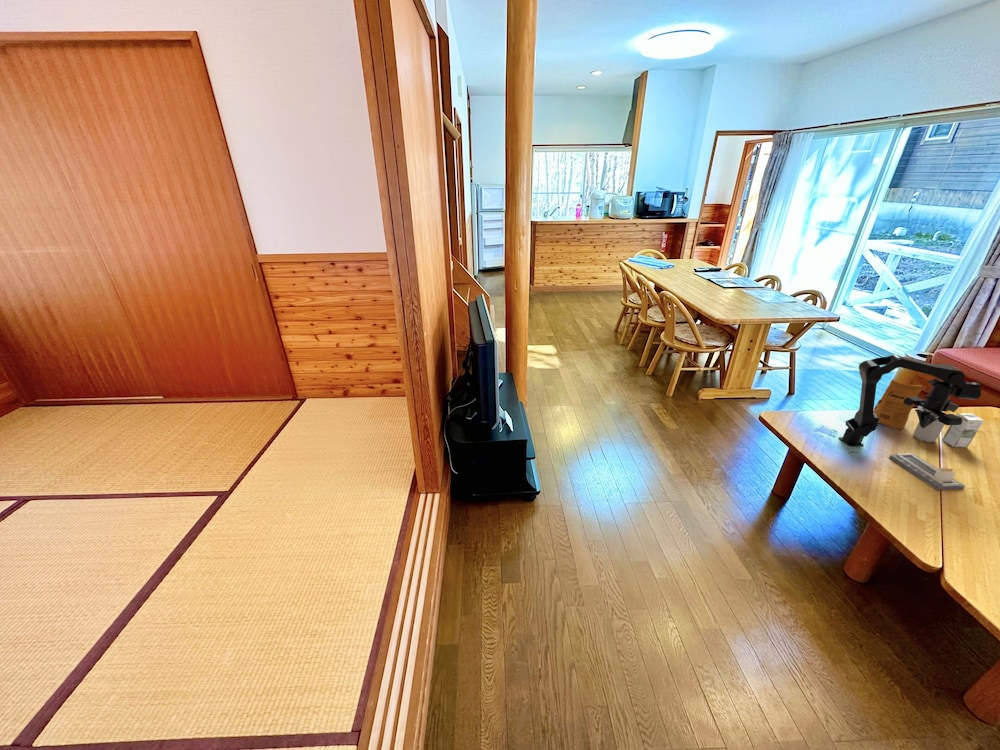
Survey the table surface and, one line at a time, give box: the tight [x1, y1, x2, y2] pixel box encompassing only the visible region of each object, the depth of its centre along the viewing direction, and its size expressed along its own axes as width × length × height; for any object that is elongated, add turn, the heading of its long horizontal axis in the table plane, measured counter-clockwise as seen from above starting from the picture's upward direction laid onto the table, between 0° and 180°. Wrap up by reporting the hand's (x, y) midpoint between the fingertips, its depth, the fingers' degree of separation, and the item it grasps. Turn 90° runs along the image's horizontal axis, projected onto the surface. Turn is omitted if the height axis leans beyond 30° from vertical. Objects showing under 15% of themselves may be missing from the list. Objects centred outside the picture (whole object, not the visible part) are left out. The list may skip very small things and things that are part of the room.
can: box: [912, 419, 946, 443], centre depth 178 cm, size 8×8×12 cm
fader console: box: [888, 452, 966, 491], centre depth 159 cm, size 10×20×2 cm, turn 2°
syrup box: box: [942, 412, 985, 448], centre depth 173 cm, size 6×6×14 cm
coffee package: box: [873, 378, 923, 430], centre depth 188 cm, size 10×12×22 cm
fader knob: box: [934, 467, 956, 482], centre depth 153 cm, size 4×3×5 cm
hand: (922, 427), depth 167 cm, fingers closed
